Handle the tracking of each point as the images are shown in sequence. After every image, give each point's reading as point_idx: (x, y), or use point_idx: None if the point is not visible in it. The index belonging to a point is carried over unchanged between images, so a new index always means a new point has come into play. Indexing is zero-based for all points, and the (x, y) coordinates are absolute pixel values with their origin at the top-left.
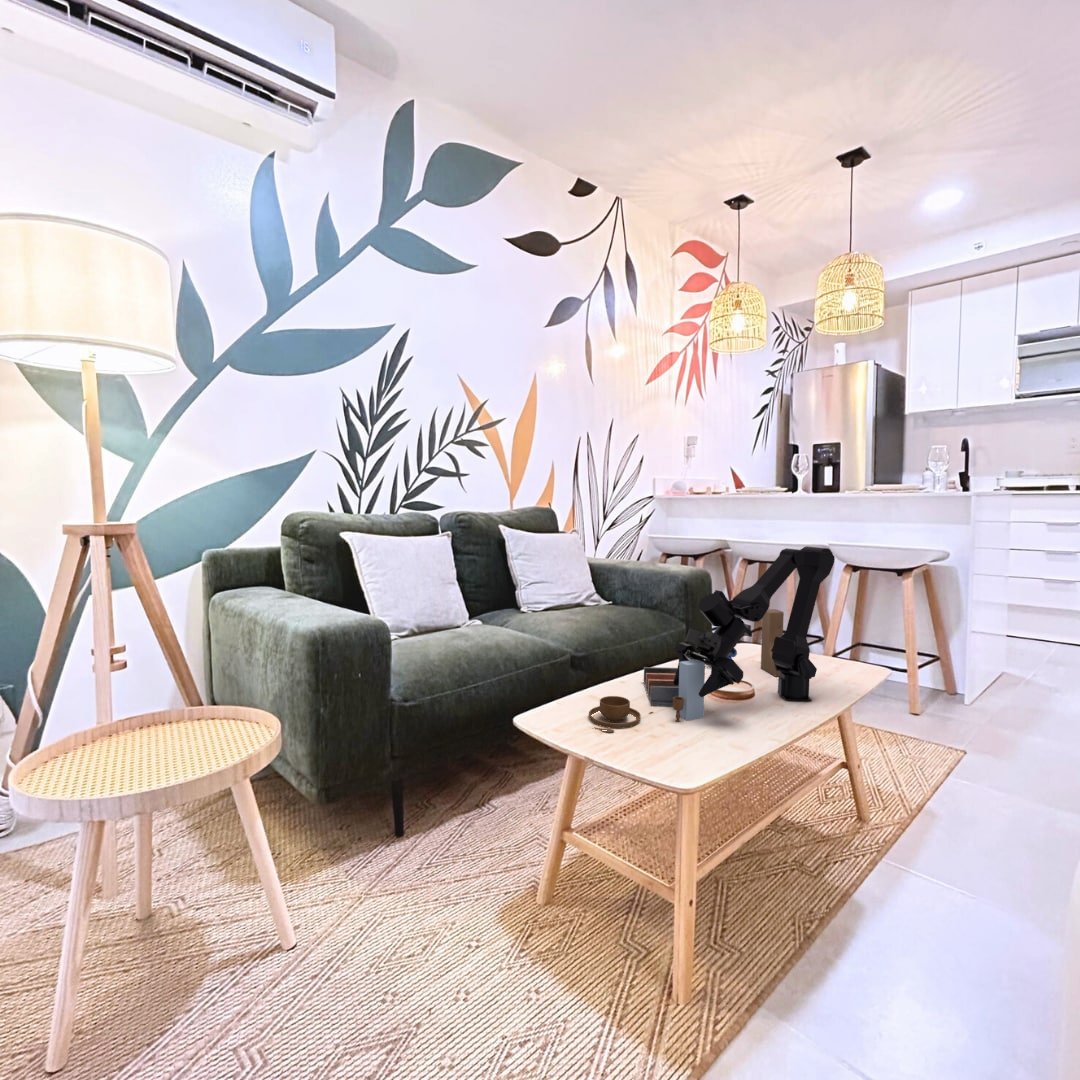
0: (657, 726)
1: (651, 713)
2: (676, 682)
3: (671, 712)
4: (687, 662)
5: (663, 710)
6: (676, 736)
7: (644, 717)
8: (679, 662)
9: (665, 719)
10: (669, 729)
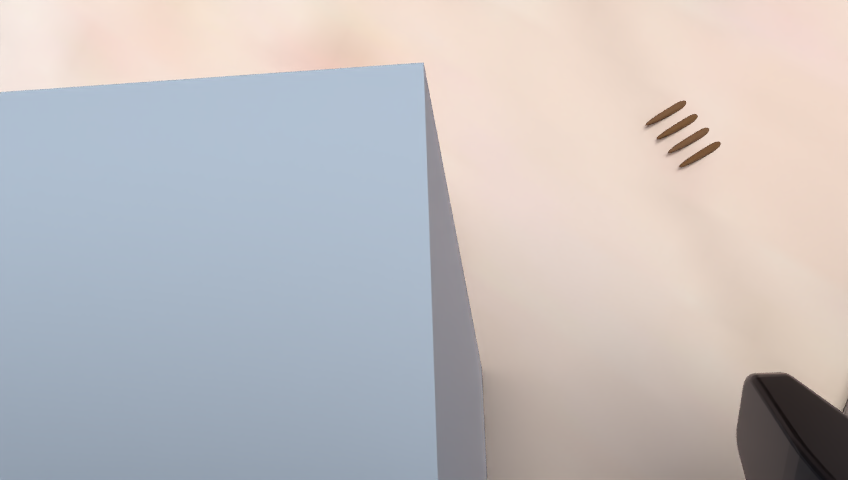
0: (325, 10)
1: (650, 120)
2: (755, 442)
3: (622, 368)
4: (96, 436)
5: (716, 316)
6: (55, 44)
7: (586, 11)
8: (418, 77)
9: (453, 179)
10: (214, 73)
